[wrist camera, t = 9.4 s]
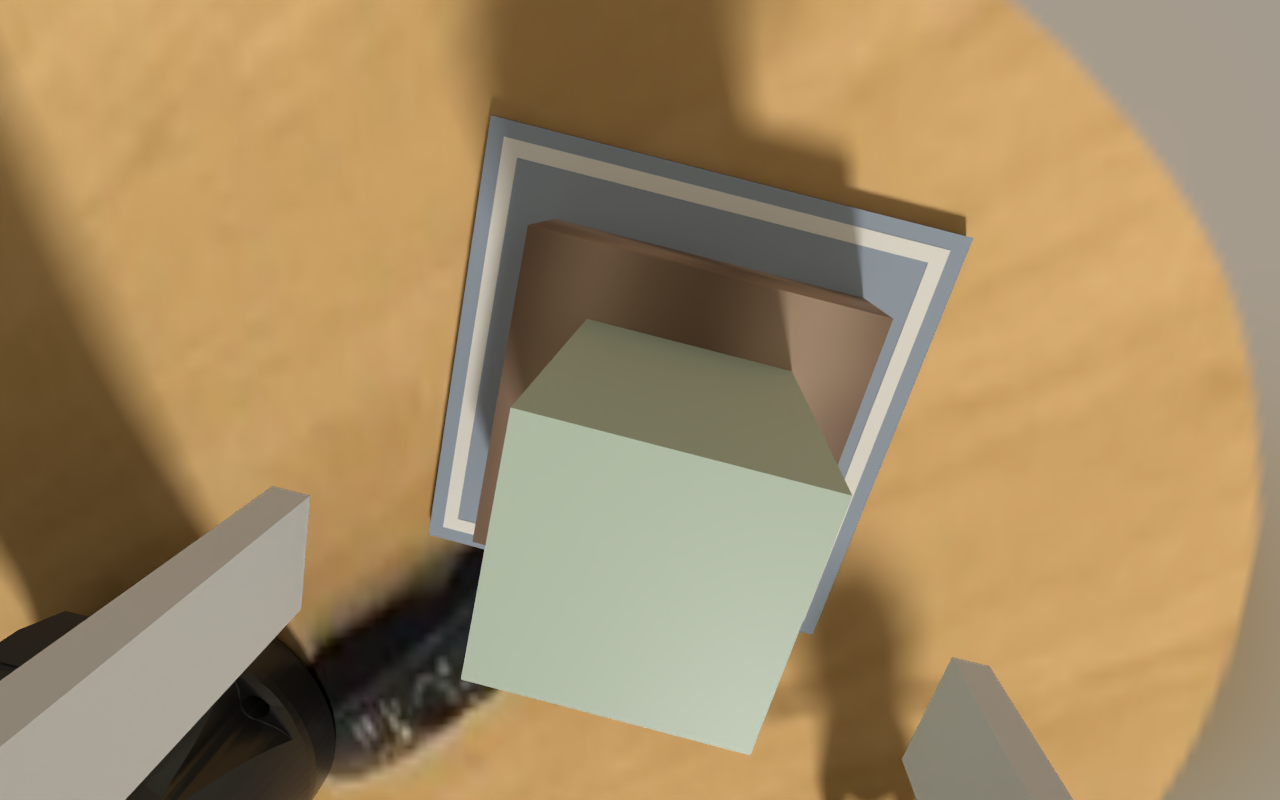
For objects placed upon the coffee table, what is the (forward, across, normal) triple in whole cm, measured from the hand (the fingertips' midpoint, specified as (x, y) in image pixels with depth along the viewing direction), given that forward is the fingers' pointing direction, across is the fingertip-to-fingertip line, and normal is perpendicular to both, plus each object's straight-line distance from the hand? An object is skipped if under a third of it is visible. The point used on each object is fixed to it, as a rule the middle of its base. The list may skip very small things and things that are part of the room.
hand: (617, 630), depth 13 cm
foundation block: (+14, +1, 0) cm, 14 cm away
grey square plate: (+15, +1, 0) cm, 15 cm away
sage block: (+10, 0, 0) cm, 10 cm away
